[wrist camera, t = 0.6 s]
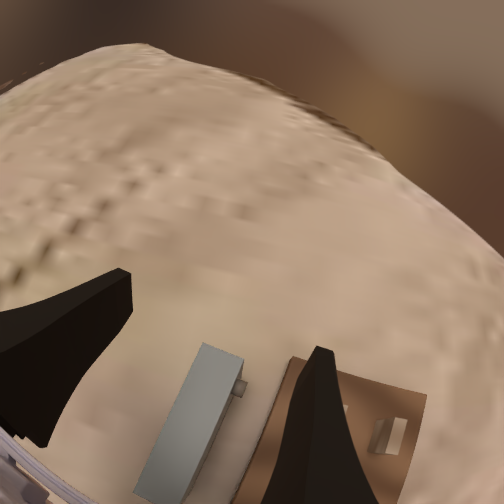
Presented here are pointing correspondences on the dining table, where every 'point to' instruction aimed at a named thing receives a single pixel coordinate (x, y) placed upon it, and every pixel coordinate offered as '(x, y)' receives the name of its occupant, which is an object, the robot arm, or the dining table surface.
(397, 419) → the cabinet base
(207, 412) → the grey block
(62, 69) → the dining table surface
